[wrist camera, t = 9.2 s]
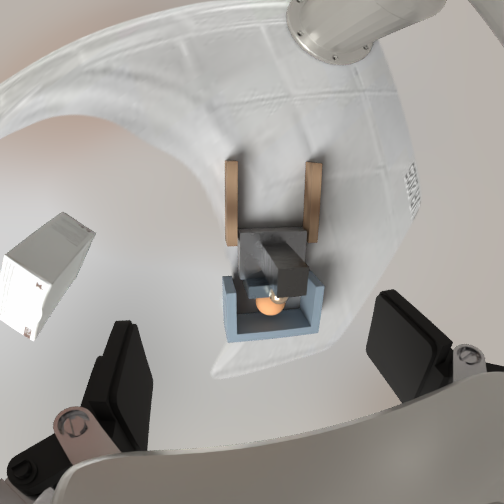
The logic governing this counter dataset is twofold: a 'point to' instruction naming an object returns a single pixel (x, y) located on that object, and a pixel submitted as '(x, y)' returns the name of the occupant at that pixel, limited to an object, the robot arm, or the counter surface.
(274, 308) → the ball
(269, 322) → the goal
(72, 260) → the skincare box
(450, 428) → the robot arm
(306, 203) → the rail
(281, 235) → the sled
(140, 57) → the counter surface
